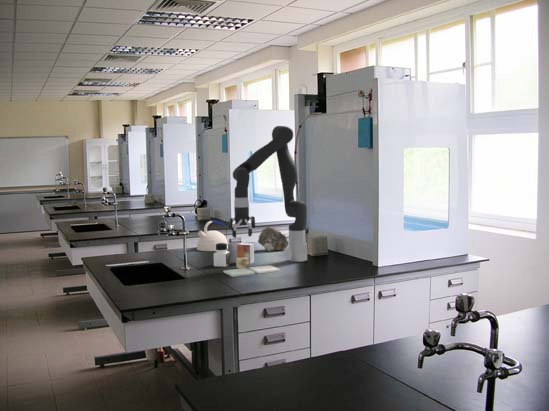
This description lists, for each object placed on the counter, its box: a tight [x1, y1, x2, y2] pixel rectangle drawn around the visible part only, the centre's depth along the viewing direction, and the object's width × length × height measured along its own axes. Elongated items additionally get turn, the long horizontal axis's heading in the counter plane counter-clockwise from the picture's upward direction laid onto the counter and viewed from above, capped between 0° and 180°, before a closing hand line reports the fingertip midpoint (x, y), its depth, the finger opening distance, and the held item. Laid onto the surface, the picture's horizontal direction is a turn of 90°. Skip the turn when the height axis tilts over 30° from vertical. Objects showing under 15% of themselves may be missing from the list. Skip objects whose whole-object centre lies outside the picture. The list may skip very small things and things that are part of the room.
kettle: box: [196, 220, 229, 252], centre depth 355 cm, size 20×21×18 cm
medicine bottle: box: [213, 243, 231, 268], centre depth 300 cm, size 7×7×12 cm
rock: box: [257, 226, 289, 252], centre depth 344 cm, size 18×14×15 cm
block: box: [235, 257, 250, 269], centre depth 293 cm, size 5×5×5 cm
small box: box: [236, 242, 255, 265], centre depth 306 cm, size 8×6×10 cm
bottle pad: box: [223, 268, 256, 278], centre depth 279 cm, size 12×12×1 cm
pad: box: [248, 264, 281, 274], centre depth 285 cm, size 12×12×1 cm
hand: (242, 236), depth 291 cm, fingers open, 8 cm apart
